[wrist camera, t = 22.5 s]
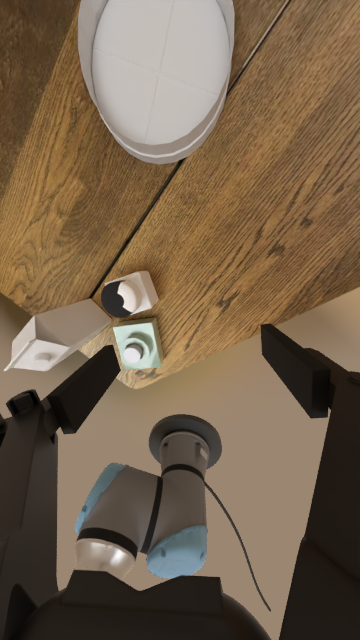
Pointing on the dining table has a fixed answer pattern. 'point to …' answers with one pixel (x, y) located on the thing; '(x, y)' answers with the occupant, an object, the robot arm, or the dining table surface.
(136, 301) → the medicine bottle
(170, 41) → the dish
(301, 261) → the dining table surface
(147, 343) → the push button box
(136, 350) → the grey push button
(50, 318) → the milk carton
